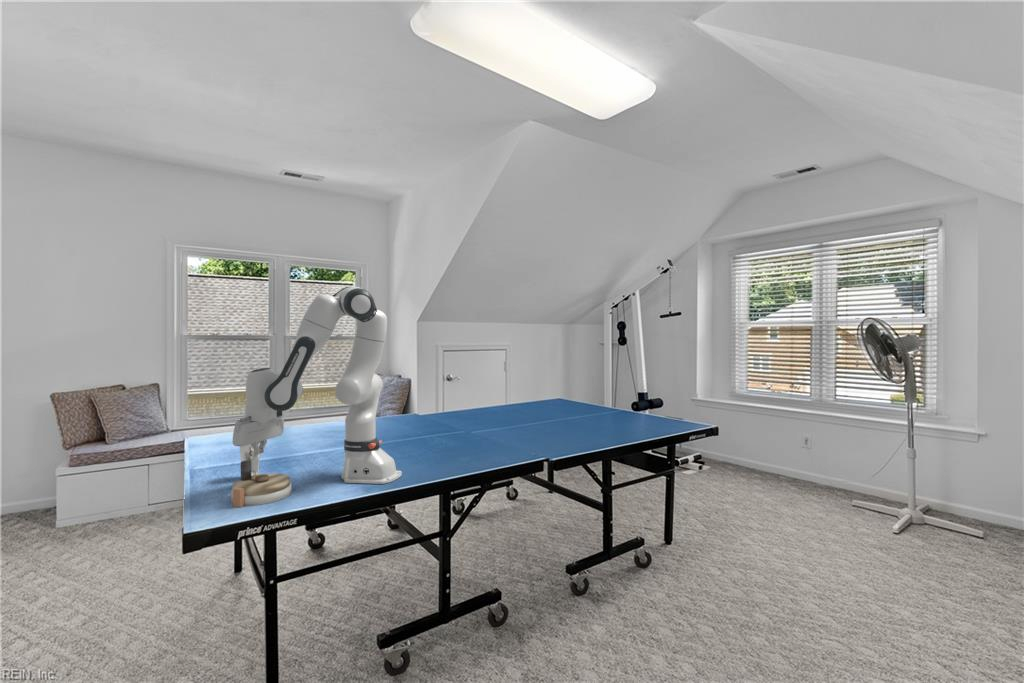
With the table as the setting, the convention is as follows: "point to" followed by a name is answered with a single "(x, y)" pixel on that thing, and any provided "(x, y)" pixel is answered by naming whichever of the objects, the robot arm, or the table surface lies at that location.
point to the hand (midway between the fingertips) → (258, 453)
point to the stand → (257, 497)
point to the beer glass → (250, 458)
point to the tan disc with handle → (260, 481)
